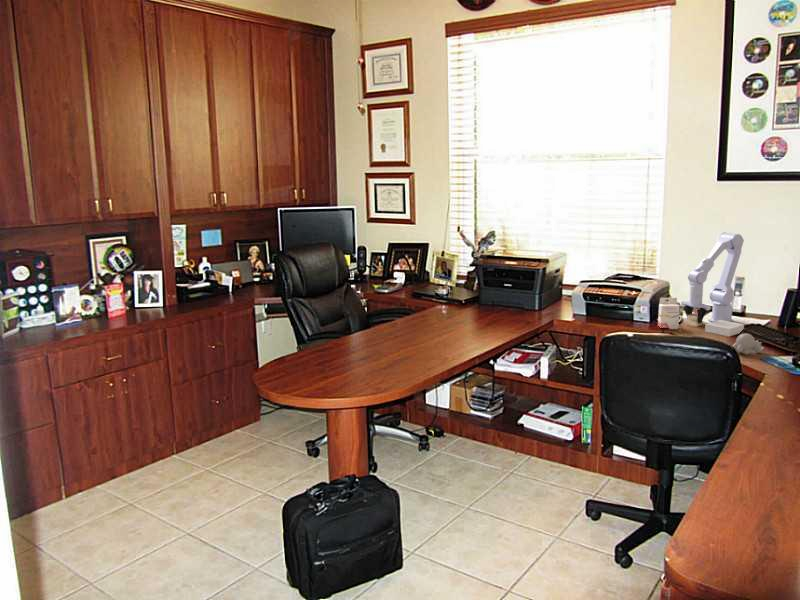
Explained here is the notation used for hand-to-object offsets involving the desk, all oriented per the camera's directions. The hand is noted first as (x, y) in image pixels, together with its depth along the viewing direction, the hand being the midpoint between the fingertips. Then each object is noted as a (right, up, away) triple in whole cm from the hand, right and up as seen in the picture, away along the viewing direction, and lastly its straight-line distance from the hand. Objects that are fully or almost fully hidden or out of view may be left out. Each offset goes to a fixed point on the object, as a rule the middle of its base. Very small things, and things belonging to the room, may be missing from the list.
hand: (694, 322), depth 329 cm
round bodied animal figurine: (+2, -12, -46) cm, 48 cm away
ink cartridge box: (-14, -3, -3) cm, 15 cm away
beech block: (0, -1, 0) cm, 1 cm away
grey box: (+8, -5, -13) cm, 16 cm away
